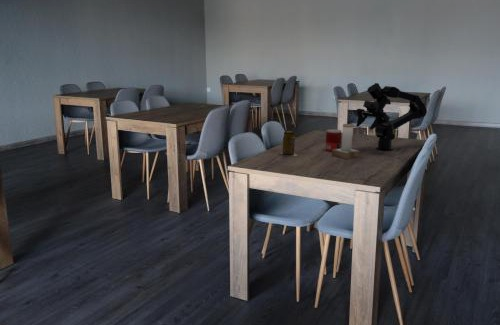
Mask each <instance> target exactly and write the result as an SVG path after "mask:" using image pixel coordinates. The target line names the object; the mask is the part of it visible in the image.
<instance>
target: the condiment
mask: <svg viewBox="0 0 500 325" xmlns="http://www.w3.org/2000/svg"><path fill="white" fill-rule="evenodd" d="M295 138H296V137H295V132H294V131H293V130H284V132H283V137H282V152H279V154H280V155H283V156H285V157H297V156H299V155H298V154H296V153H295V144H296V143H295V142H296V139H295Z"/></svg>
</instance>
